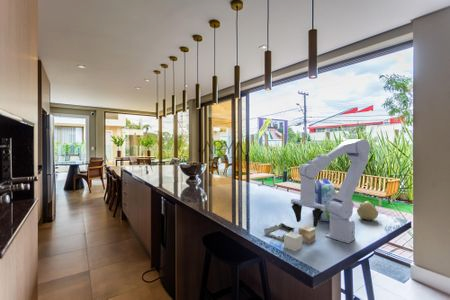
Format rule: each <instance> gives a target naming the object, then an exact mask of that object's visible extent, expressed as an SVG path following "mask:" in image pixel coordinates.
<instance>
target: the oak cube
mask: <svg viewBox="0 0 450 300" xmlns="http://www.w3.org/2000/svg"><path fill="white" fill-rule="evenodd" d="M297 234H300V235H302V242H305V243H308V244H311V243H313V242H314V241H316V227H311V226H308V225H305V224H304V225H302V226H300V227H298V232H297Z"/></svg>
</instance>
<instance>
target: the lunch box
mask: <svg viewBox="0 0 450 300" xmlns="http://www.w3.org/2000/svg"><path fill="white" fill-rule="evenodd" d="M336 194H337V193H336V188H335V184H334V183H333V182H332V181H331V180H329V179H328V178H322V179H319V180H318V179H315V203H318V204H322V205H325V210H324V211H323V213H322V215H321V217H320V219H319V221H322V222H330V215H329V212H328V211H327V208H326V206H327V203H328V201H330V200H331V198H332V196H334V195H336ZM313 210H315V209H314V208H313Z"/></svg>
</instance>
